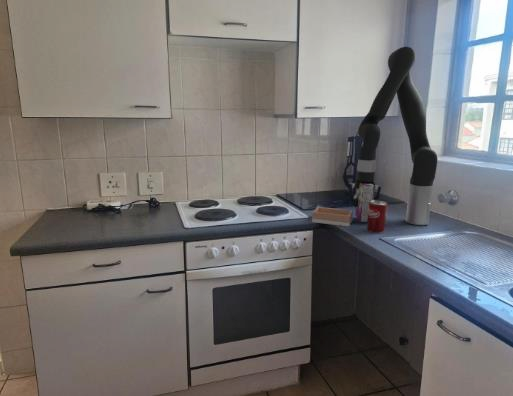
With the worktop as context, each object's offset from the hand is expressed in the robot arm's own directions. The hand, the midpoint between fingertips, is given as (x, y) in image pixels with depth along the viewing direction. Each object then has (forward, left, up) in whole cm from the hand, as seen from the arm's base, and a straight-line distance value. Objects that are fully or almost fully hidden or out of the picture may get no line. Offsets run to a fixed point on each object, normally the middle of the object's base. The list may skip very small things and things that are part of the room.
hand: (363, 207), depth 169 cm
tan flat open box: (+12, +6, -6) cm, 15 cm away
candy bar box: (0, 0, -5) cm, 5 cm away
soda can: (-7, +12, -7) cm, 15 cm away
